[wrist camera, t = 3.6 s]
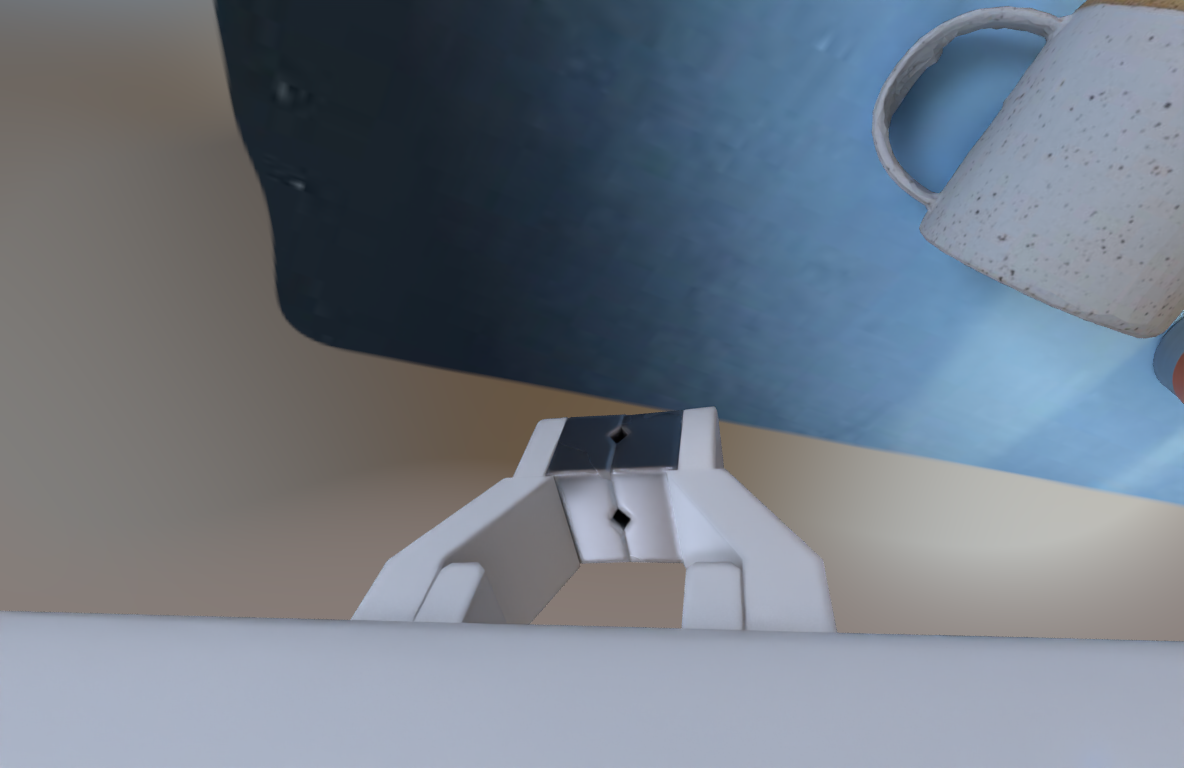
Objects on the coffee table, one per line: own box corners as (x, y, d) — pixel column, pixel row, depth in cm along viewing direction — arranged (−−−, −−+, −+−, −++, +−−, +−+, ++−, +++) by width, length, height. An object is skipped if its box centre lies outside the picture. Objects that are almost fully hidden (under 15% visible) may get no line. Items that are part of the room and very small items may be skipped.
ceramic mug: (1259, 55, 19) (1537, 69, 12) (1071, 281, 23) (1203, 378, 17) (947, -56, 19) (1060, -101, 12) (820, 190, 23) (856, 251, 17)
